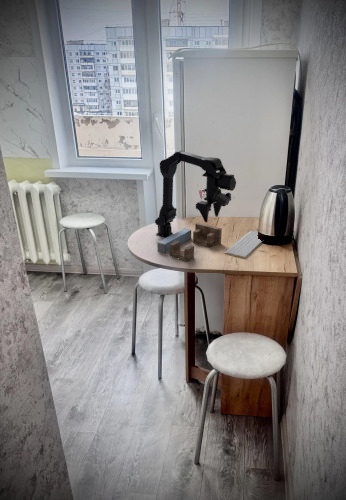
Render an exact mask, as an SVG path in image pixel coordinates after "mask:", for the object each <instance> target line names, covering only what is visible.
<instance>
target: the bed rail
mask: <svg viewBox="0 0 346 500" xmlns="http://www.w3.org/2000/svg"><path fill="white" fill-rule="evenodd" d="M190 239H192V229H188V228H185V227H184V228H182V229H181V230H179V231H177V232H175V233H173V234H171V235H169V236H167V237H164V238H163V239H162V240H160V241H157V246H156V247H157V252H159V253H163V254H166V253H167V251H168V252H170V244H171V243H173V242H175V241H179V242H180V245H181V244H183V243H184V242H187V241H188V240H190Z"/></svg>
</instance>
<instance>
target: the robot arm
mask: <svg viewBox="0 0 346 500" xmlns="http://www.w3.org/2000/svg"><path fill="white" fill-rule="evenodd" d="M181 162H183V163H187V164H190V165H192V166H193V165H194V166H196V167H200V168H201V169H202V171H205V172H204V173H203V174H202V177H204V178H205V177H206V187H205V188H204V192H205V197H203V200H200V201H198V202H196V204H195V209H196V210H197V211H199V212H200V215H201V217H202V218H203V220H204V223H208V220H209V214H210V212H211V211H212V207H213V212H214V216H215V217H216V218H218V217H219V214H220V211H221V208H222V207H226V206H227V205H229V204H230V201H232V194H231V193H230V192H226V193H223V192H222V190H227V191H231V192H232V191H234V190H235V188H236V186H237V181H236V178H235V174H230V173H229V174H228V173H227V170H226V169H225V167H224V165H223V162H222V160H221V158H218V157H210V156H209V157H204V156H200V155H198V154H195V153H190V152H187V151H184V150H178V151H175V152H174V153H173V154H171V155H170V156H169V157H166V158H165V159H162V160H161V161H160V162H159V171H160V175H161V176H162V205H161V207H160V210H159V213H158V214H159V215H158V217H157V218H156V219H154V223H155V225H156V226H157V233H156V234H155V235H157V236H160V237H164V238H167V237H169V236H171V235H173V234H174V233H173V232H172V222H173V223H174V220H175V219H176V216H177V208H176V207H175V206H174V205H173V199H174V198H173V194H174V193H173V192H174V176H175V175H176V172H177V169H178V165H179V164H180V163H181Z"/></svg>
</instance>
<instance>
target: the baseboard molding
mask: <svg viewBox="0 0 346 500" xmlns="http://www.w3.org/2000/svg"><path fill="white" fill-rule="evenodd" d="M258 232H259V231H257V230H255V231H254V229H251V231H250V230H248V231H247V233H245V234H244V235H242V237H241V238H239V239H238V240H237V241H236V242H235V243H234V244H232V245H231V246H230V247H229V248H228V249H226V250H225V251H224V252H223V254H225V255H228V256H233V257H235V258H236V257H237V258H240V259H244V260H245V259H246V258H247V257H249V255H250V254H251V253H252V252H254V250H255V249H256V248H257V247H258V246H259V245H261V244H262V242H263V241H261V240H260V239H258V236H257V235H258Z"/></svg>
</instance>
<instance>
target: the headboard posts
mask: <svg viewBox="0 0 346 500" xmlns="http://www.w3.org/2000/svg"><path fill="white" fill-rule="evenodd" d="M194 229H195V230H194V231H192V234H193V235H192V243H193V244H197V245H201V246H205V247H208V248H212V247H213V246H215V245H217V246H219V245H221V244H222V236H223V235H222V231H223V228H221V227H217V226H213V225H209V224H205V223H200V222H196V223H195V228H194ZM169 256H170V257H171V256H172V258H174V259H178V258H179V259H178V260H181V259H182V261H183V262H190V261H192V260H193V259H195V245H192V244H190V245H188V246H186V247H185V248H184V249H181V244H180V242H179V241H175V242H173V243H171V244H170V250H169Z"/></svg>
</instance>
